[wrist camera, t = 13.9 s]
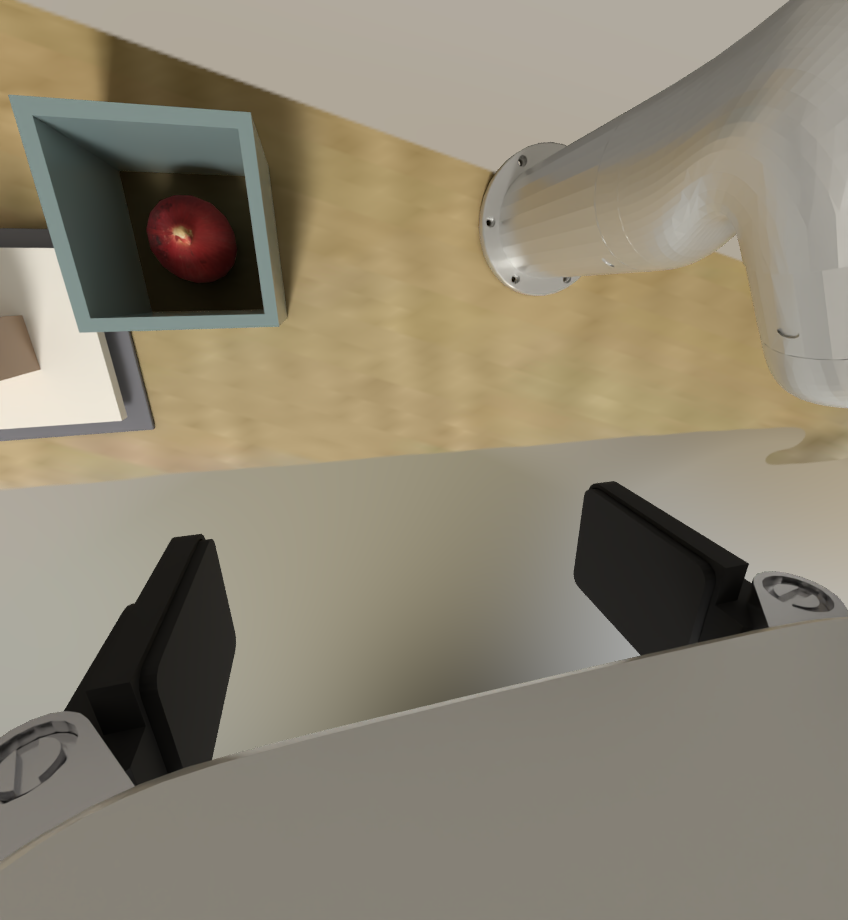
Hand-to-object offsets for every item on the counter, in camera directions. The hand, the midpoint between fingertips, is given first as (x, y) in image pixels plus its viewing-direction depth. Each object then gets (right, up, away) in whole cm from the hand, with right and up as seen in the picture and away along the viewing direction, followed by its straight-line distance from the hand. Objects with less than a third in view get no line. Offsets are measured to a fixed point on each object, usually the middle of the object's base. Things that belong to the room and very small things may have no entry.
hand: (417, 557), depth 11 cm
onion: (-18, +20, +24) cm, 36 cm away
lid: (-32, +12, +22) cm, 41 cm away
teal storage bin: (-18, +20, +24) cm, 36 cm away
